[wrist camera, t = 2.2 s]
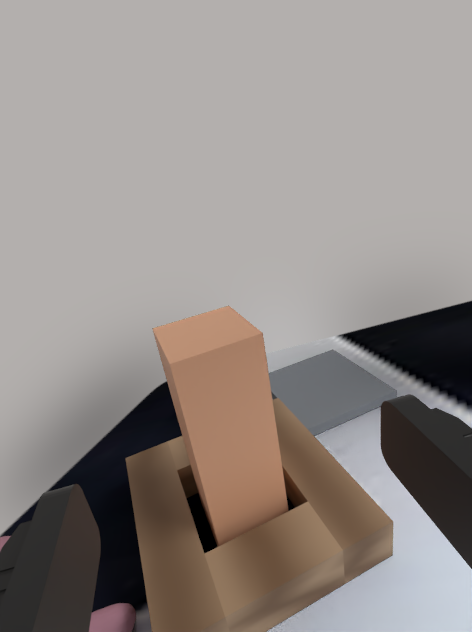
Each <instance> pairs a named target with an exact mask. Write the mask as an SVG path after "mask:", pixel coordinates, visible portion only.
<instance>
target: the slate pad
mask: <svg viewBox="0 0 472 632" xmlns="http://www.w3.org/2000/svg"><path fill="white" fill-rule="evenodd" d="M269 380H270V387H271V394H272V399H273V400H274V399H276V398H279V399H280V400H281V401H282V402H283V403H284V404H285V406H286V407H287V408H288V409H289V410H290V411H291V412H292V413H293V414H294V415H295V416H296V417H297V419H298V420H299V421H300V422H301V423H302V424H303V425H304V426H305V427H306V428H307V429H308V430H309V431H310V433H311V434H312V435H313V436H315V435H317V434H319V433H322V432H324V431H326V430H328V429H331V428H333V427H335V426H337V425H340V424H342V423H344V422H346V421H349V420H351V419H353V418H355V417H358V416H360V415H362V414H364V413H366V412H369V411H371V410H373V409H375V408H378V407H380V406H381V404H382V403H383V402H384V401H387V400H391V399H394V398H396V395H397V391H396V390H395V389H393V388H392V387H390V386H389V385H387V384H386V383H384V382H382V381H381V380H379V379H378V378H376V377H375V376H373V375H372V374H370V373H369V372H367V371H365V370H364V369H362V368H361V367H359V366H358V365H356V364H355V363H353V362H351V361H350V360H348V359H347V358H345V357H344V356H342V355H341V354H339V353H338V352H336V351H334V350H330V351H328V352H325V353H322V354H320V355H317V356H314V357H312V358H309V359H306V360H304V361H301V362H298V363H295V364H293V365H290V366H287V367H285V368H282V369H279V370H277V371H274V372H271V373H269Z"/></svg>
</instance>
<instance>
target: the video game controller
mask: <svg viewBox="0 0 472 632" xmlns="http://www.w3.org/2000/svg"><path fill="white" fill-rule="evenodd" d="M10 537H11V536H3V537H0V551H1V549H2V547H3V546H4V544H5V543H6V542H7V540H8V539H9V538H10ZM135 620H136V612H135V609H134V608H133V606H132V605H131V604H129V603H117V604H114V605H110V606H107V607H105V608H102V609H100V610H97V611H94V612H92V614H91V621H90V627H89V632H132V630H133V627H134V624H135Z"/></svg>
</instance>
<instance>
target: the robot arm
mask: <svg viewBox="0 0 472 632" xmlns="http://www.w3.org/2000/svg"><path fill="white" fill-rule="evenodd" d="M381 450H382V454H383V456H384V459H385V461H386V463H387V465H388V466H389V468H390V469H391V471H392V472H393V473H394V474H395V476H396V477H397V478H398V479H399V480H400V482H401V483H402V484H403V485H404V487H405V488H406V489H407V490H408V491H409V493H410V494H411V495H412V496H413V498H414V499H415V500H416V501H417V502H418V504H419V505H420V506H421V507H422V509H423V510H424V511H425V512H426V514H427V515H428V516H429V517H430V518H431V520H432V521H433V522H434V523H435V525H436V526H437V527H438V528H439V529H440V531H441V532H442V533H443V534H444V536H445V537H446V538H447V539H448V540H449V542H450V543H451V544H452V545H453V547H454V548H455V549H456V550H457V552H458V553H459V554H460V555H461V556H462V558H463V559H464V560H465V561H466V563H467V564H468V565H469V566H470V567H471V569H472V428H470V427H469V426H468V425H467V424H465V423H464V422H463V421H461V420H460V419H459V418H457V417H455V416H453V415H451V414H448V413H446V412H444V411H442V410H439V409H437V408H434V409H430V408H428V407H427V406H426V405H425V404H424V403H422V402H421V401H420V400H419V399H417V398H416V397H415V396H413V395H405V396H402V397H398V398H394V399H391V400H387V401H384V402H383V403H382V404H381ZM100 553H101V541H100V533H99V529H98V526H97V523H96V521H95V519H94V516H93V514H92V512H91V510H90V507H89V505H88V503H87V500H86V498H85V496H84V493H83V491H82V489H81V487H80V486H79V485H78V484H75V485H71V486H67V487H64V488H60V489H56V490H53V491H49V492H45V493H43V494H42V496H41V497H40V499H39V502H38V504H37V507H36V510H35V513H34V515H33V518H32V521H28V522H25V523H21V524H20V525H19V526H18V528H17V529H16V530H15V531H14V533H13V534H12V535H11V537H10V538H9V539H8V540H7V542H6V543H5V544H4V546H3V547H2V549H1V551H0V632H89V627H90V621H91V614H92V607H93V601H94V594H95V587H96V581H97V574H98V567H99V561H100Z"/></svg>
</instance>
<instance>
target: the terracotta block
mask: <svg viewBox="0 0 472 632" xmlns="http://www.w3.org/2000/svg"><path fill="white" fill-rule="evenodd" d="M153 332H154V336H155V339H156V343H157V347H158V350H159V353H160V357H161V361H162V364H163V368H164V371H165V375H166V379H167V382H168V386H169V389H170V393H171V397H172V400H173V404H174V407H175V411H176V414H177V418H178V422H179V425H180V429H181V432H182V436H183V439H184V443H185V447H186V450H187V454H188V457H189V461H190V464H191V468H192V472H193V475H194V479H195V482H196V486H197V489H198V493H199V497H200V500H201V504H202V506H203V509H204V512H205V514H206V517H207V520H208V522H209V525H210V528H211V530H212V533H213V536H214V539H215V541H216V544H217V547H219V546H221V545H223V544H225V543H227V542H229V541H231V540H233V539H235V538H237V537H239V536H241V535H243V534H244V533H246V532H248V531H250V530H252V529H254V528H256V527H258V526H260V525H262V524H264V523H266V522H268V521H270V520H272V519H274V518H276V517H278V516H280V515H282V514H284V513H286V512H288V511H289V510H288V503H287V496H286V490H285V483H284V476H283V469H282V462H281V455H280V448H279V442H278V435H277V428H276V421H275V414H274V407H273V401H272V394H271V387H270V380H269V373H268V366H267V359H266V353H265V346H264V339H263V333H262V332H261V331H259V330H258V329H257V328H256V327H254V326H253V325H252V324H251V323H249V322H248V321H247V320H246V319H244V318H243V317H242V316H241V315H240V314H238V313H237V312H236V311H235V310H233V309H232V308H231V307H230V306H226V307H223V308H219V309H217V310H213V311H210V312H206V313H203V314H200V315H196V316H193V317H189V318H186V319H183V320H179V321H176V322H173V323H169V324H166V325H163V326H159V327H156V328H153Z"/></svg>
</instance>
